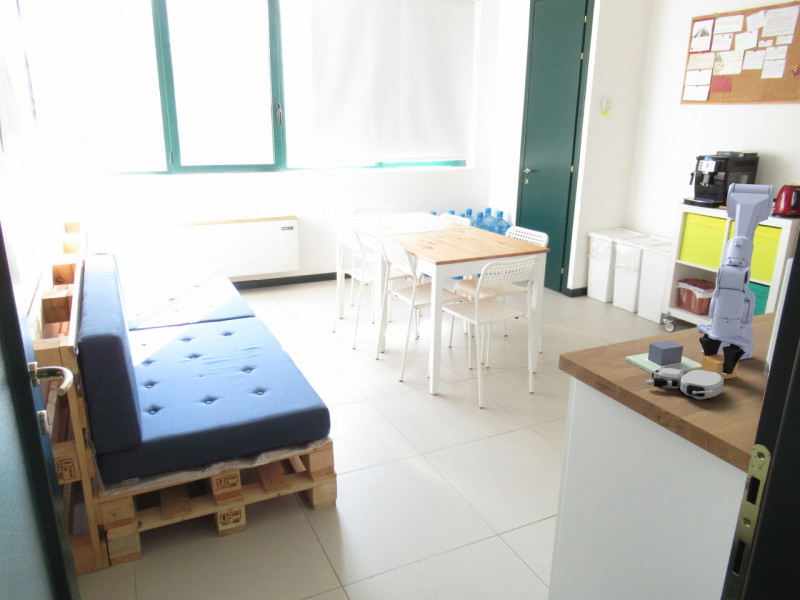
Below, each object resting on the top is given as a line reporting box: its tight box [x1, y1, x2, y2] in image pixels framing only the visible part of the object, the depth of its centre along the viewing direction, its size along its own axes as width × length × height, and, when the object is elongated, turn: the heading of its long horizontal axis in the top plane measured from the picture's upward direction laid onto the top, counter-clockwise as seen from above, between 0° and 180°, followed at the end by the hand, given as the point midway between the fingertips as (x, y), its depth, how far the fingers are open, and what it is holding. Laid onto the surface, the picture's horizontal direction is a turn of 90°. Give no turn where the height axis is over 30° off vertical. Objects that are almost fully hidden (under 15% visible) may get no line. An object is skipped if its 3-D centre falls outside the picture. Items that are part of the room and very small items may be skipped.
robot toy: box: [645, 367, 727, 401], centre depth 135 cm, size 12×4×15 cm
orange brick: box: [701, 353, 739, 380], centre depth 143 cm, size 6×4×4 cm
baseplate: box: [624, 352, 702, 374], centre depth 150 cm, size 14×12×1 cm
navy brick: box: [648, 339, 684, 366], centre depth 149 cm, size 6×4×4 cm
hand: (718, 369), depth 143 cm, fingers closed on orange brick, 4 cm apart
